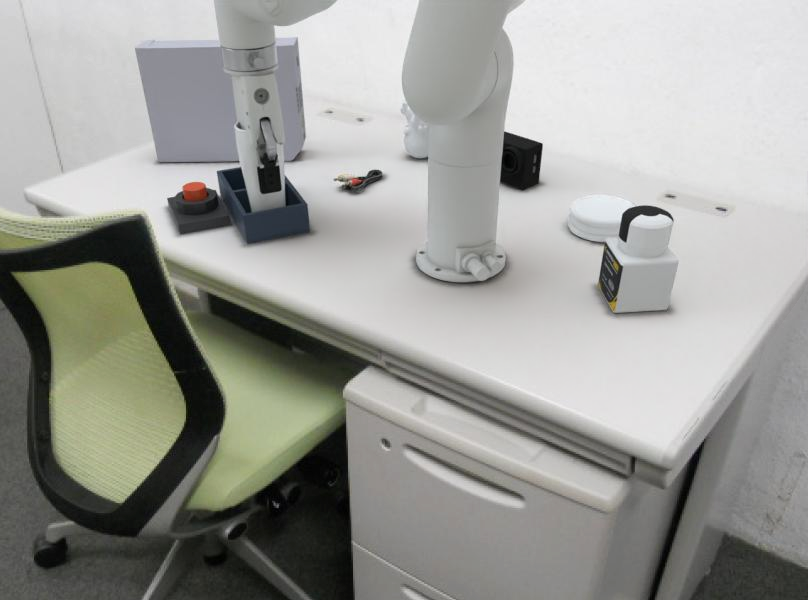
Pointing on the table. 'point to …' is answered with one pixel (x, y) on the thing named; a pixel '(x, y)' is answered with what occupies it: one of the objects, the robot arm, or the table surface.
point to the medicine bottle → (639, 262)
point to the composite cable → (358, 180)
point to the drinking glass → (251, 175)
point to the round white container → (597, 216)
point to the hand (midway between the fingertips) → (264, 182)
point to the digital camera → (520, 161)
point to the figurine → (415, 133)
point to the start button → (194, 191)
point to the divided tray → (266, 221)
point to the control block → (198, 212)
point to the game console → (209, 99)
